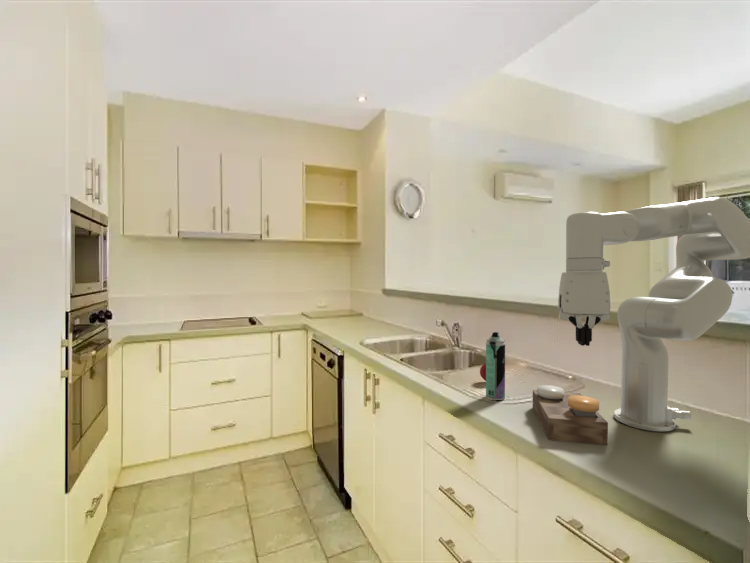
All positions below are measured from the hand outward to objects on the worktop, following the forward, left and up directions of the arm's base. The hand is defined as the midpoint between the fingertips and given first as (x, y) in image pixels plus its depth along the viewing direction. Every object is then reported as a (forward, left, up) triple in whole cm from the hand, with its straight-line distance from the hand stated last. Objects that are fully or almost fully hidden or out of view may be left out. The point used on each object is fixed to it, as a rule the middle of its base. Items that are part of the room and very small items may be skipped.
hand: (583, 344), depth 86 cm
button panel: (+3, -5, -21) cm, 22 cm away
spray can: (+18, -21, -21) cm, 35 cm away
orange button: (0, 0, -20) cm, 20 cm away
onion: (+19, -36, -21) cm, 46 cm away
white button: (+5, -10, -21) cm, 23 cm away
